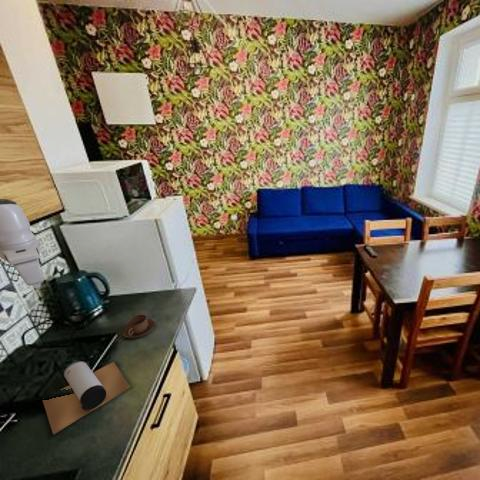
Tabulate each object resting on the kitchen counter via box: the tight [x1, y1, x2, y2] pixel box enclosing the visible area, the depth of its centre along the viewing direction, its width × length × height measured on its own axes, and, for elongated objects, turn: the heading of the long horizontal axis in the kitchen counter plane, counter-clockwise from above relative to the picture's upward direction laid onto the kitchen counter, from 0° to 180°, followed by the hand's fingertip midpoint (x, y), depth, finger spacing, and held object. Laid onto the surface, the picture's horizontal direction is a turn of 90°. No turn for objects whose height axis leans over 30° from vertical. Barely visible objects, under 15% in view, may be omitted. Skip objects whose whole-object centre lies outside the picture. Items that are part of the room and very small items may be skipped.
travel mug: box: [63, 360, 106, 410], centre depth 90 cm, size 6×7×20 cm
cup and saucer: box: [122, 314, 155, 339], centre depth 117 cm, size 12×12×6 cm
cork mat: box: [42, 361, 131, 435], centre depth 91 cm, size 20×17×1 cm
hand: (37, 286), depth 90 cm, fingers closed
